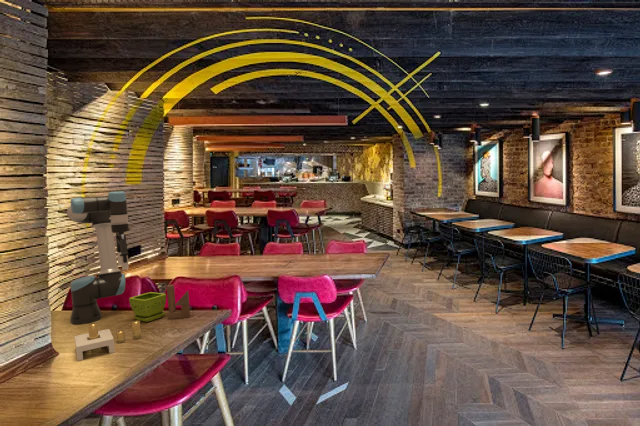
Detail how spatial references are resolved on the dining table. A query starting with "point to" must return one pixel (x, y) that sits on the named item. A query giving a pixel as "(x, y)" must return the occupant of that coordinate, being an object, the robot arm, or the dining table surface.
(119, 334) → the pin short
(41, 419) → the dining table surface
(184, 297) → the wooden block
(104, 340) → the white block with hole
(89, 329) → the pin long
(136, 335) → the pin medium
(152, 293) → the flower pot
